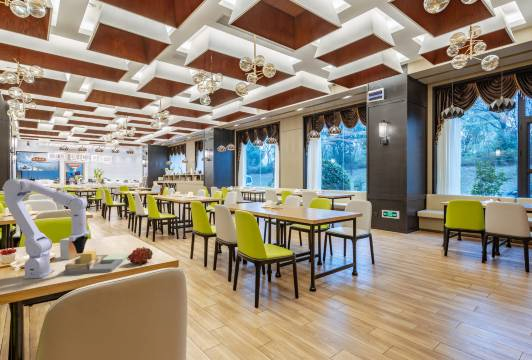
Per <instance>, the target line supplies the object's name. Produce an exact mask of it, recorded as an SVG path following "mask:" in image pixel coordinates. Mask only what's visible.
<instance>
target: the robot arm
mask: <svg viewBox="0 0 532 360" xmlns="http://www.w3.org/2000/svg"><path fill="white" fill-rule="evenodd" d="M1 189H2V190H3V192H4V193H3V194H4V204H5V206H6V207H7V209H8V211H9V212H10V214H11V216H12V218H13V219H14V221H15V222H16V224H17V226H18V228H19V229H20V231H21V233H22V234H23V236H24V242H23V244H24V246H25V247H24V248H25V253H26V254H27V256H29V258H28V259H27V260H26V261H25V262H24V276H23V277H22V279H25V280H26V279H42V278H44V277H46V276H48V275H49V274H52V273H53V272H55V270H56V269H51V259H50V257H51V255H50V250H51V248H52V247H53V242H52V239H50V238H49V237H47V236H46V234H45V233H43V232H41V230H40V229H39V228H38V226H37V225H36V223H35V221H34V219H33V218H32V216H31V215H30V213H29V211H28V210H27V208H26V206H25V204H24V203H23V200H24V198H25V196H27V195H28V194H29V193H30V192H35V193H37V194H40V195H42V196H43V195H44V196H45V197H49V198H51V199H52V201H53V202H54V203H57V204H59V205H62V206H65V207H67V208H68V209H69V210H70V212H71V215H70V216H71V217H70V218H71V221H70V222H71V235H70V236H68V238H69V241H71V242H72V243H73V244H74V246H75V249H76V252H77V254H80V253H81V254H82V253H83V252H85V246H86V243H87V241H88V239H89V236H88V235H90V229H88V228H87V206H88V205H89V203H88V200H87V199H86V198H84V197H83V196H78V195H76V194H73V193H72V194H71V193H69V192H68V191H67V190H65V189H63V190H62V189H61V190H60V189H59V190H54V189H53V188H51V187H48V186H45V185H44V184H41V183H39V182H37V181H35V180H30V178H29V179H28V178H10V179H8V180H6V181H5V183H4V184H3V185H2V188H1Z"/></svg>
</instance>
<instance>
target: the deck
mask: <svg viewBox="0 0 532 360" xmlns="http://www.w3.org/2000/svg"><path fill="white" fill-rule="evenodd" d="M100 255H101V254H96V258H97V257H98V256H100ZM102 255H103V260H102V261H100V262H99V263H98V264H96V265H95V266H93V267H92V268H91V269H89V270H72V271H65V270H64V271H63V273H64V275H75V274H76V275H79V274H80V275H81V274H94V273H95V274H97V273H112V272H113V271H115V269H116V268H117V267H119V266H120V265H122V264H123V262H124V260H125V261H126V260H127V257H128V256H129V255H130V254H129V253H118V254H117V253H115V254H102ZM79 264H81V263H79Z"/></svg>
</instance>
